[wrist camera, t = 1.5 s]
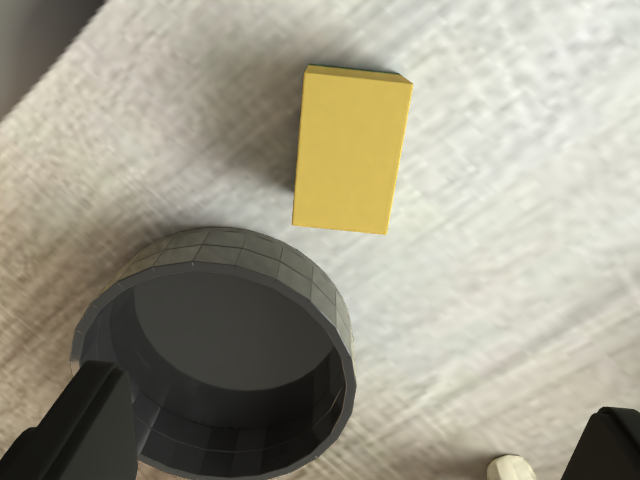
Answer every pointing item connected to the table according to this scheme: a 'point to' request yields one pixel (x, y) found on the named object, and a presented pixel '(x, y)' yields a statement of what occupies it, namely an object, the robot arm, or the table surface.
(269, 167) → the table surface
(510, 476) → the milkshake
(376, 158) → the sponge
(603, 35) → the table surface
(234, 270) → the pan
